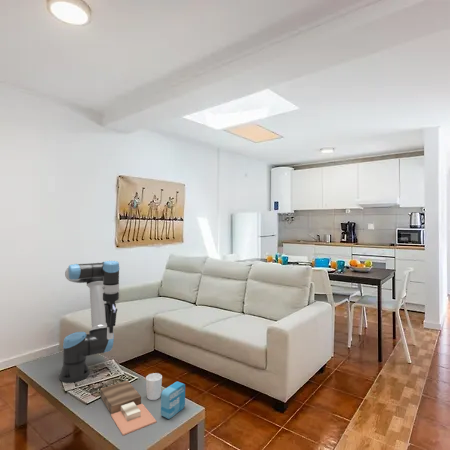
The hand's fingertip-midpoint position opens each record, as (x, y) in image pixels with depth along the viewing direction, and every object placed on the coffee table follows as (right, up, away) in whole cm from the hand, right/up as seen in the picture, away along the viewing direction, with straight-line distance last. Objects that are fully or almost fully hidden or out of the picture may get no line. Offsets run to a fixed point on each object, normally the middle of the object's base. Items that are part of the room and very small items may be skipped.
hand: (110, 338), depth 162 cm
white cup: (+22, -30, +1) cm, 37 cm away
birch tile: (+15, -29, -15) cm, 36 cm away
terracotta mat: (+17, -30, -18) cm, 39 cm away
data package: (+34, -30, -12) cm, 47 cm away
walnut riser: (+6, -29, -4) cm, 30 cm away
